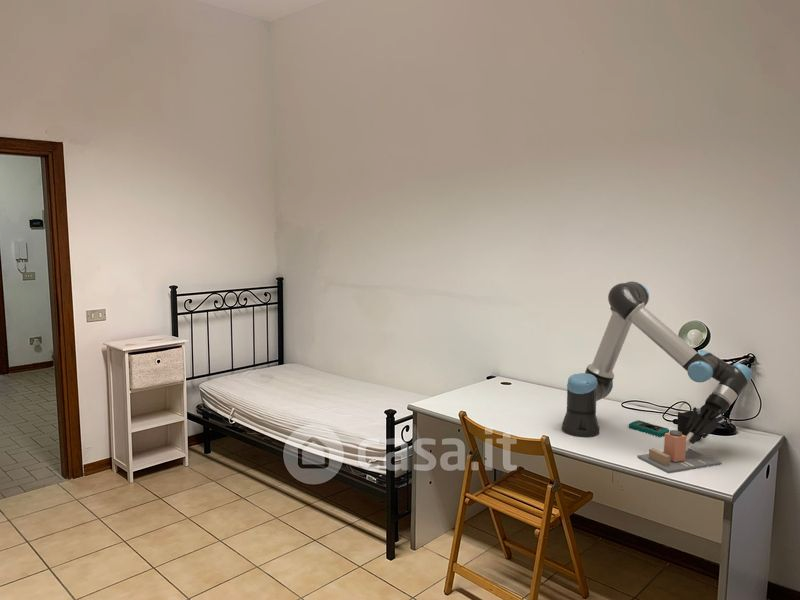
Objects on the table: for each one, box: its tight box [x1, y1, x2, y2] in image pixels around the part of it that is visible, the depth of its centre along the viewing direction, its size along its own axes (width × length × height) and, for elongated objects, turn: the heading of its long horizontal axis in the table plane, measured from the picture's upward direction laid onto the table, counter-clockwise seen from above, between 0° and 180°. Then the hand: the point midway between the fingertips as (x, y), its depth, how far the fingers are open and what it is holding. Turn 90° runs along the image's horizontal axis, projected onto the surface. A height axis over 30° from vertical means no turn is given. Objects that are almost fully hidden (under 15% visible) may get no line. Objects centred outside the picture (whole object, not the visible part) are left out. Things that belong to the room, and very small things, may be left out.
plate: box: [636, 447, 722, 474], centre depth 210 cm, size 24×15×4 cm, turn 109°
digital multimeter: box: [628, 419, 670, 438], centre depth 243 cm, size 7×15×3 cm, turn 36°
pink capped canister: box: [663, 429, 686, 462], centre depth 209 cm, size 5×5×10 cm
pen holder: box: [676, 410, 702, 442], centre depth 234 cm, size 9×9×10 cm
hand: (682, 448), depth 211 cm, fingers closed
